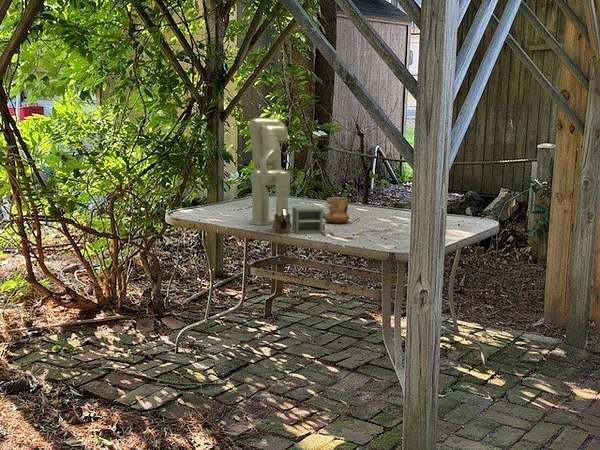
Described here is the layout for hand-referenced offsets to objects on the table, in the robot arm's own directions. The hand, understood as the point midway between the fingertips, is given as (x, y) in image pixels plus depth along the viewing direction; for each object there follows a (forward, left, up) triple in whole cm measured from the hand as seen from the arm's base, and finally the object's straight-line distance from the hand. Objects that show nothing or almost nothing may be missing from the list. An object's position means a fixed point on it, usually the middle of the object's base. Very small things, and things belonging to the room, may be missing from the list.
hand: (282, 227), depth 407 cm
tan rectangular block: (0, 0, -3) cm, 3 cm away
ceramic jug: (-31, +38, -3) cm, 49 cm away
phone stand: (-17, +3, -3) cm, 18 cm away
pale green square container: (+3, +16, -3) cm, 17 cm away
